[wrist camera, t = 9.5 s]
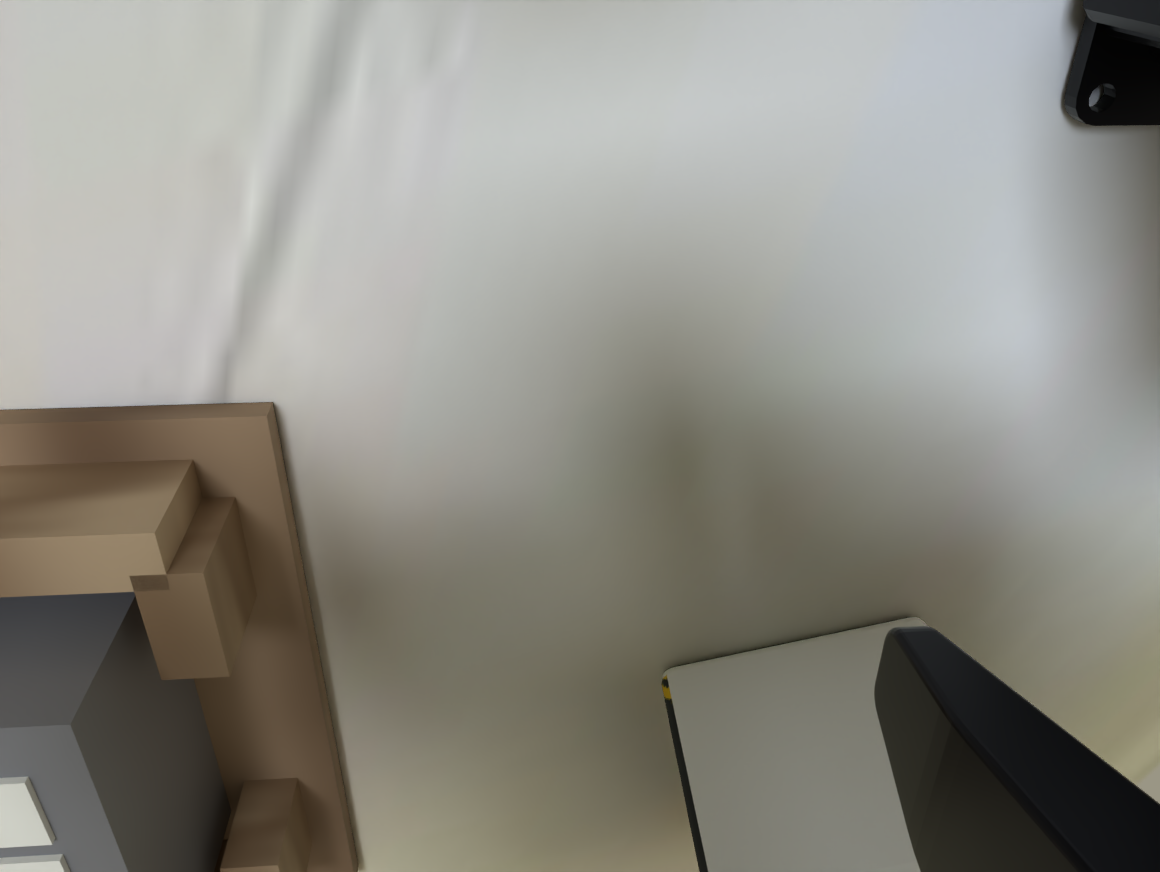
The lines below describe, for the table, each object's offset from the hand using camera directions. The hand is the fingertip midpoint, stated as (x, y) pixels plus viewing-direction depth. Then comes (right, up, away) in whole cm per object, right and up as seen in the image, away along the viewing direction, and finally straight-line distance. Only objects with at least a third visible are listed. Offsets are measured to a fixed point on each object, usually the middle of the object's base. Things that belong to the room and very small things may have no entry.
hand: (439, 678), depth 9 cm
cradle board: (-10, -4, +14) cm, 18 cm away
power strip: (-10, -4, +14) cm, 18 cm away
